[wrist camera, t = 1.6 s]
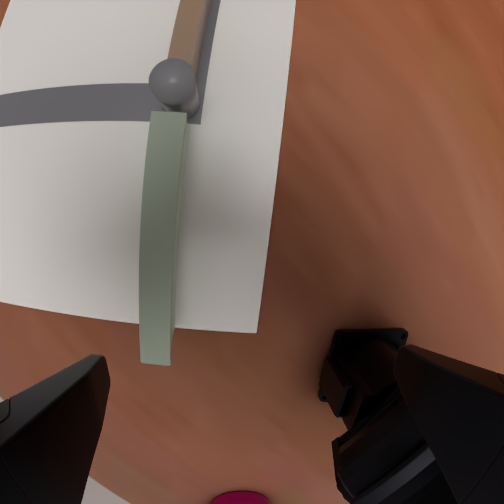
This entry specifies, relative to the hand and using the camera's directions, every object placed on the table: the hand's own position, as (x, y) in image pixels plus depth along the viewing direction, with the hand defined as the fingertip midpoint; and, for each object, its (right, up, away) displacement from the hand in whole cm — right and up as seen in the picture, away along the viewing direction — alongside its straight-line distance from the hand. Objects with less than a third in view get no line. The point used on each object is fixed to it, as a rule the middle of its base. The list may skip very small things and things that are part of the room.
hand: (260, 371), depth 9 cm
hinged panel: (-5, +5, +10) cm, 12 cm away
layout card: (-9, +12, +9) cm, 17 cm away
